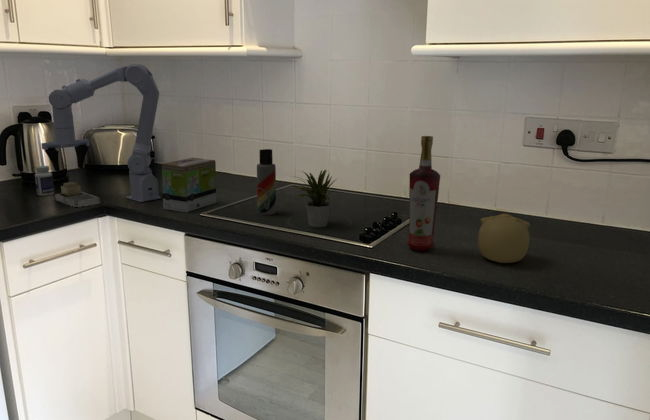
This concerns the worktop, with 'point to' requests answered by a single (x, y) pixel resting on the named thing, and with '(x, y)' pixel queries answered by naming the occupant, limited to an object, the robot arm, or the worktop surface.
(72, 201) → the grey flat frame
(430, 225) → the liquor
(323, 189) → the house plant
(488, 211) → the worktop surface
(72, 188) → the block
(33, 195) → the worktop surface
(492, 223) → the sculpture
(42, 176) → the pill bottle
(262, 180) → the lotion bottle
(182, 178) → the tea box
